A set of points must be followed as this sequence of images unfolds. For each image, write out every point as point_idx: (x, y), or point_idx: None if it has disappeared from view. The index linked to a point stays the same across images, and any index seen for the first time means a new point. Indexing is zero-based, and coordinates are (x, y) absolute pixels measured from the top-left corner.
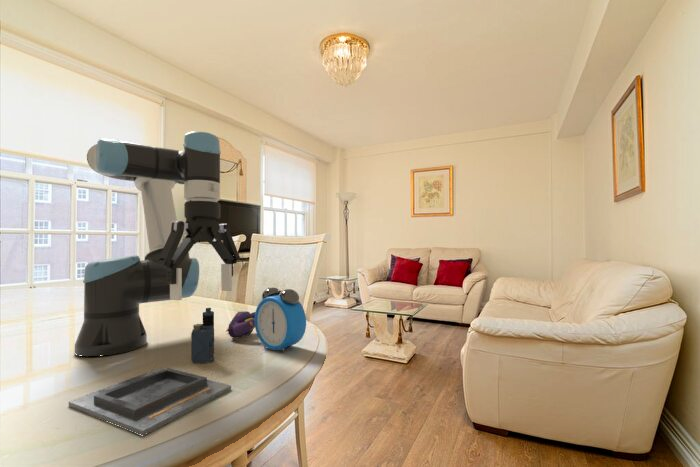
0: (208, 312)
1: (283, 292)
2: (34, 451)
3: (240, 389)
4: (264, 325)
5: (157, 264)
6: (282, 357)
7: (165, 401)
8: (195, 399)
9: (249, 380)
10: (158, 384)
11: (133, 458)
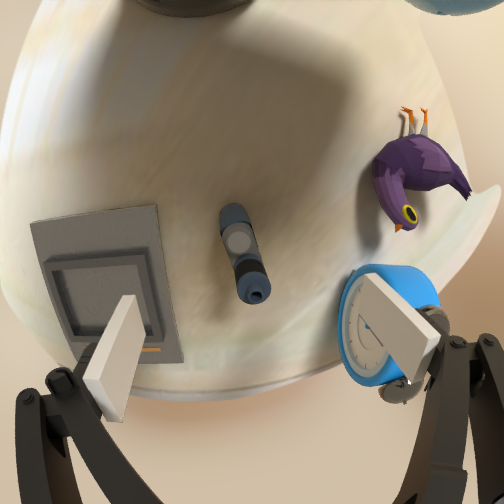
0: (250, 295)
1: (395, 395)
2: (14, 299)
3: (192, 365)
4: None
5: (22, 392)
6: (318, 332)
7: None
8: None
9: (219, 356)
10: (118, 278)
11: None
